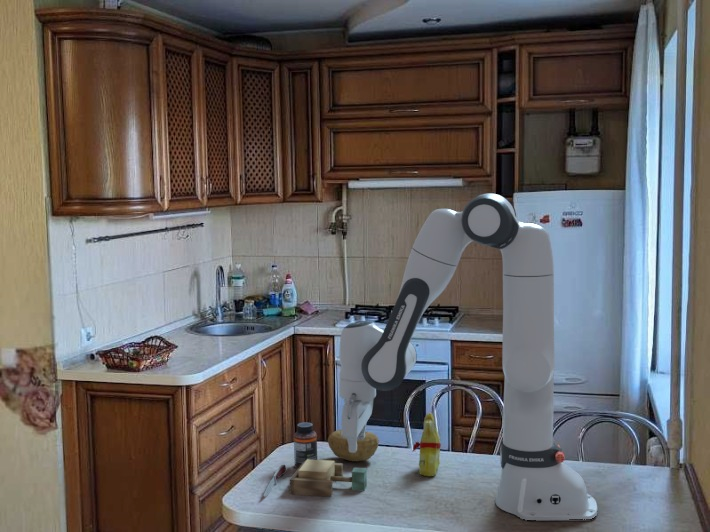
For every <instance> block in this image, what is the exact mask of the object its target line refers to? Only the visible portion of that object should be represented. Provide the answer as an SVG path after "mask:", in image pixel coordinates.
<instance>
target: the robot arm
mask: <svg viewBox="0 0 710 532" xmlns="http://www.w3.org/2000/svg"><path fill="white" fill-rule="evenodd" d="M472 242H475V243H477V244H479V245H482V246H486V247H490V248H494V249H497V250H499V251H500V252H501V256H502V257H501V259H502V353H501V354H502V360H501V362H502V365H501V366H502V372H503V374H504V386H503V387H504V389H503V406H502V408H503V411H502V412H503V413H502V417H503V420H502V421H503V422H502V425H503V426H502V427H503V428H502V429H503V430H502V441H501V443H500V451H499V453H500V455H499V456H500V457H499V460H500V467H501V473H500V480H499V484H498V486H499V487H498V490H497V494H496V497H495V500H494V501H495V502H494V503H495V505H496V506H497V508H499V509H501V510H502V511H505V512H507V513H510V514H512V515H515V516H517V517H518V518H519V517H520V519H521V518H522V519H521V520H523V519H525V520H524V521H527V520H536V521H570V520H569V519H583V520H582V521H587V520H586V519H592V518H594V517H595V516H596V517H597V515H598V512H597V511H598V503H597V501H596V499H595V498H594V497H593V496H592V495H591V494H589V493H588V490H587V486H586V483H585V481H584V479H583V477H582V476H581V475H580V473H578V472H576V471H575V470H574V469H572V467H570V466H569V465H567V464H566V463H565V461H566V458H565V453H564V452H563V450H562V448H561V447H560V444H555V443H554V391H555V390H554V389H555V388H554V383H555V382H554V381H555V380H554V375H555V299H554V298H555V292H554V291H555V290H554V289H555V286H554V285H555V283H554V281H555V279H554V278H555V277H554V274H555V273H554V260H553V259H554V258H553V257H554V255H553V250H552V244H551V243H552V242H551V239H550V234H549V232H548V231H547V229H545V228H544V226H543V227H542V226H541V225H539V224H535V223H532V222H531V223H527V222H525V223H524V222H522V221H519V219H518V218H517V213H516V209H515V206H514V205H513V203H512V202H511V201H510V200H509V199H508V198H506V197H505V196H502V195H500V194H496V193H491V192H490V193H483V194H479V195H477V196H476V197H474V198H472V199H471V200H470V201H468V202H467V203H466V205H465V206H464V207H463V210H462V211H458V210H457V211H456V210H452V209H450V208H437V209H434V210H433V211H432V212H430V213H429V215H428V216H427V218H426V220H425V222H424V223H423V225H422V226H421V228H420V230H419V232H418V234H417V236H416V238H415V240H414V242H413V245H412V248H411V250H410V253H409V255H408V259H407V262H406V264H405V269H404V273H403V277H402V281H401V285H400V287H399V288H400V289H399V292H398V295H397V299H396V301H395V303H394V304H395V305H394V307H393V308H392V311H391V313H390V315H389V318H388V320H387V323H386V325H385V327H384V329H382V328H381V327H379V326H378V325H377V324H376V323H374V322H373V321H370V320H362V321H355V322H353V323H352V322H351V323H349V324H347V325H346V326H345V327H344V328H343V329H342V331H341V334H340V341H339V353H338V354H339V358H338V360H339V363H340V370H339V375H338V376H339V377H338V379H339V381H338V396H339V397H340V398H341V399H343V401H344V404H343V406H342V411H341V413H342V414H341V427H340V428H341V429H340V430H341V435H342V437H343V438H347V441H348V445H349V452H351V453H355V452H356V451H357V439H358V440H363V439H364V438H365V431H366V427H367V422H368V420H369V419H370V417H372V413H373V407H374V400H375V398H376V396H377V390H378V391H381V392H382V391H383V392H387V391H388V392H389V391H392V390H395V389H396V388H398V387H399V386H400V385H401V384H402V383H403V380H404V379H405V378H406V376H408V374H409V373H410V372H411V371H412V370H413V369H414V367H415V365H416V363H417V356H418V354H417V350H416V347H415V346H414V344H413V343H412V342H411V341H412V338H413V336H414V334H415V331H416V329H417V326H418V325H419V322H420V320H421V318H422V317H423V314H424V313H425V312H426V310H427V309H428V308H429V306H430V305H432V304H433V302H434V301H435V300H436V299H437V298H438V297H439V296H440V295H441V294H442V293H443V292H444V290H445V289H446V288H447V286H448V285H449V283H450V281H451V280H452V278H453V277H454V274H455V273H456V270H457V267H458V265H459V263H460V260H461V258H462V256H463V252H464V251H465V249H466V248H467V246H468V245H469V244H470V243H472ZM596 517H595V518H596ZM595 518H594V519H595ZM584 519H585V520H584ZM592 520H593V519H592Z"/></svg>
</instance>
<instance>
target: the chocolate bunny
mask: <svg viewBox="0 0 710 532" xmlns="http://www.w3.org/2000/svg"><path fill="white" fill-rule="evenodd" d="M423 420H424V421H423V431H422V434H421V437H420V442H418V441H416V442H415V443H414V444H413V450H412V452H415V451H416V450H417V449H418V448H419V461H418V468H419V474H420V475H422V476H424V477H433V476H436V474H437V472H438V469H439V467H440V462H441V461H440V453H441V444H442V443H441V442H440V439H441V438H440V435H439V430H438V428H437V426H436V420H435V417H434V415H433V413H431V412H430V413H429V412H428V413H427V414H425V417H424V419H423Z"/></svg>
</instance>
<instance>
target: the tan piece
mask: <svg viewBox="0 0 710 532" xmlns="http://www.w3.org/2000/svg"><path fill="white" fill-rule="evenodd" d="M304 463H305V461H304V462H303V463H302V464H301V466H300V467H299V468H298V469H297V468H296V471H295V472H294V473H293V475H292V476H291V477H290V479H289V495H299V496H300V495H301V496H315V497H328V498H331V497H332V496H333V484H332V480H325V479H309V478H299V474H298V470H299V469H300V468H301V467H302V465H303V464H304ZM335 476H342V477H344V464H343V463H341V462H335Z"/></svg>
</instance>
